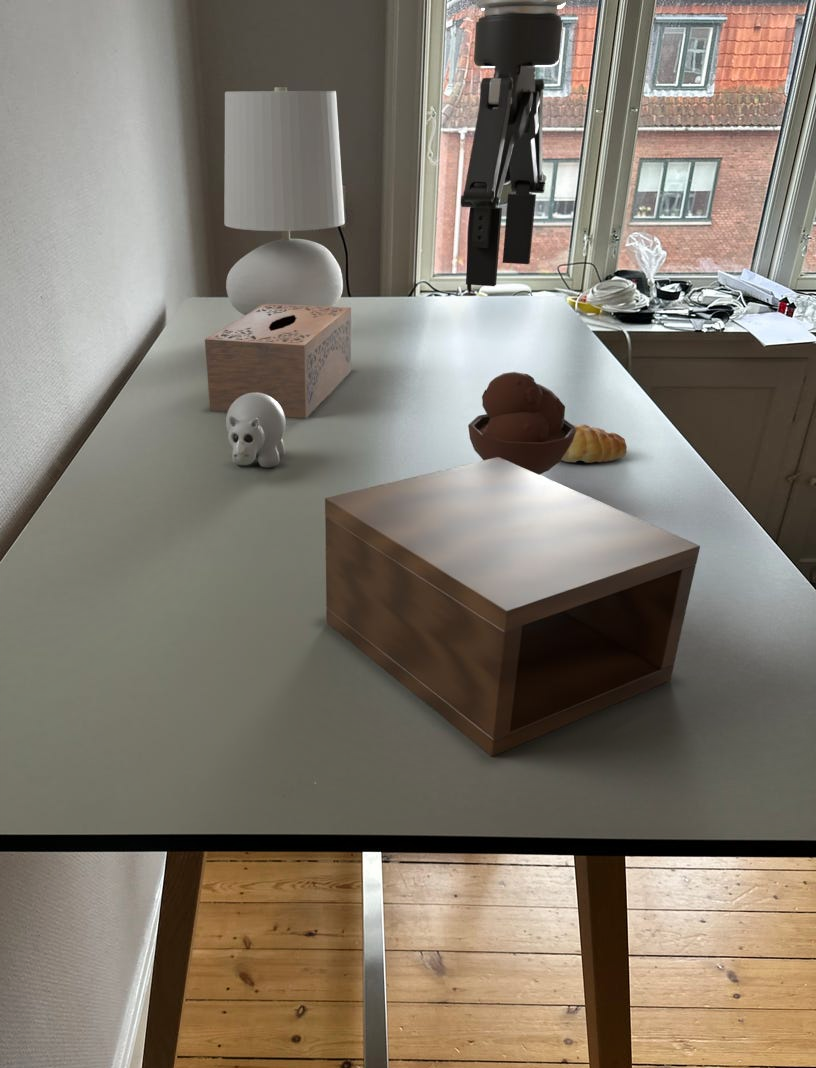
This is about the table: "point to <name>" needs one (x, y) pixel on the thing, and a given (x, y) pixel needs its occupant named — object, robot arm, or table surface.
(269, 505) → the table surface
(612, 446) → the pastry
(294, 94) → the table lamp
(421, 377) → the table surface
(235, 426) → the chubby cartoon animal
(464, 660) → the shelf
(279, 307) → the tissue box cover
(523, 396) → the ice cream bowl
